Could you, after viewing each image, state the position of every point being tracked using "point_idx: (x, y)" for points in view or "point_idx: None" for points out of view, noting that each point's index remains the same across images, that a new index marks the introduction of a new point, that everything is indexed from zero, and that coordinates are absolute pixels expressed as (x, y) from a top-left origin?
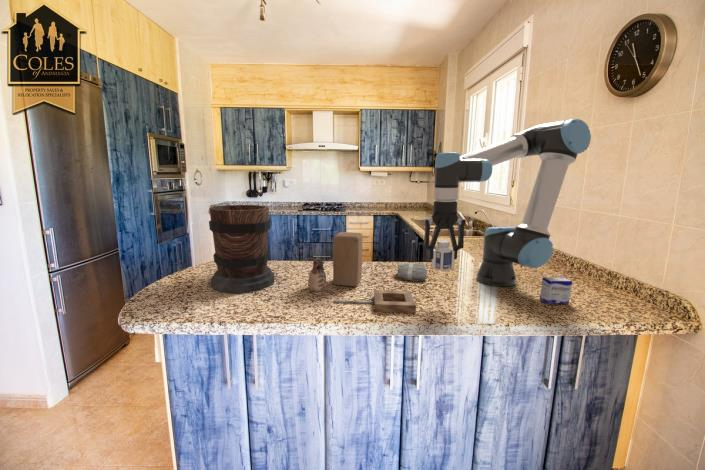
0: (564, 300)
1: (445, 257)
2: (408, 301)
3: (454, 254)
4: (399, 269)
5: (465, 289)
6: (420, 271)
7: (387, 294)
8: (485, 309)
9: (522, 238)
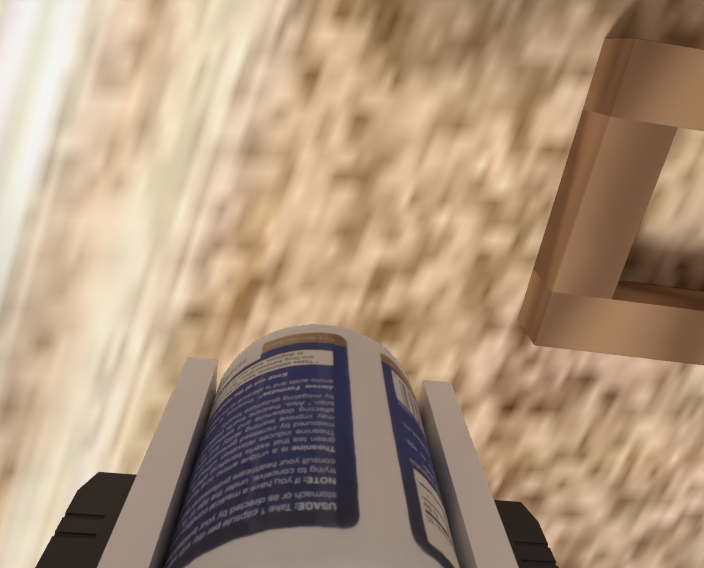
0: None
1: (318, 449)
2: (656, 134)
3: (104, 546)
4: None
5: (70, 440)
6: None
7: None
8: (11, 74)
9: None
